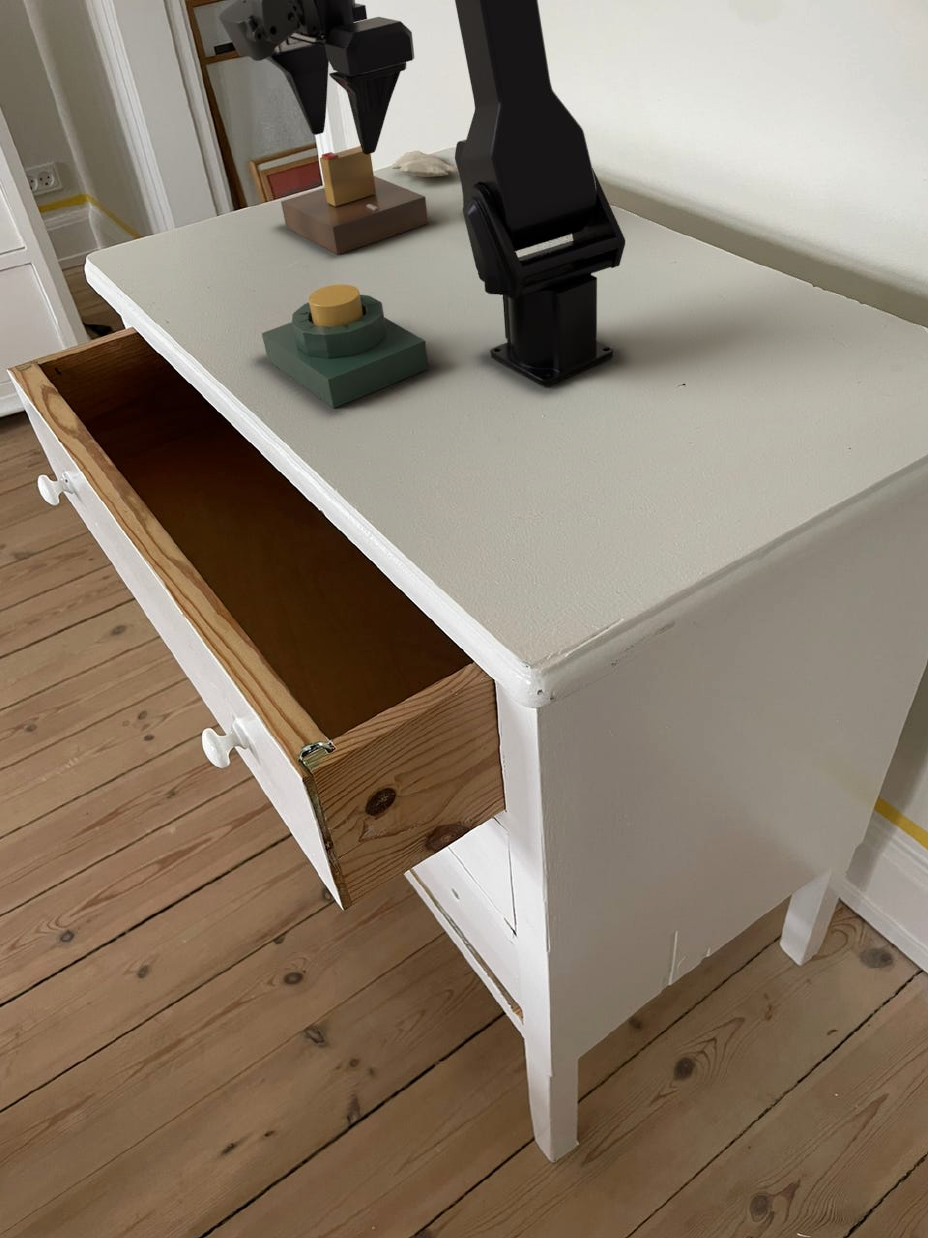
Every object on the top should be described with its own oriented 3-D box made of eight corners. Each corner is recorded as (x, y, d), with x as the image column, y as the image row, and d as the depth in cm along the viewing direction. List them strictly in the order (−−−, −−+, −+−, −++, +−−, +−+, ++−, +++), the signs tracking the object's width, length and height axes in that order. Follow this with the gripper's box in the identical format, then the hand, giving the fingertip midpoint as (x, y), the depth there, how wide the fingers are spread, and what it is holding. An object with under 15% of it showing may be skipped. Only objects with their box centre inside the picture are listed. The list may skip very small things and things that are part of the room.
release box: (428, 368, 70) (422, 316, 67) (333, 408, 67) (323, 355, 64) (357, 325, 76) (349, 276, 74) (267, 360, 73) (255, 309, 71)
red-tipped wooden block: (368, 189, 93) (361, 142, 90) (376, 193, 92) (369, 145, 89) (327, 202, 91) (318, 154, 88) (335, 206, 90) (327, 158, 87)
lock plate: (428, 223, 92) (425, 194, 90) (337, 254, 88) (332, 225, 86) (373, 199, 98) (369, 171, 96) (286, 227, 94) (280, 199, 92)
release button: (372, 317, 69) (368, 294, 68) (328, 334, 67) (324, 310, 66) (346, 302, 71) (342, 279, 70) (304, 318, 70) (299, 295, 69)
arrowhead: (457, 190, 100) (448, 162, 108) (460, 171, 99) (451, 144, 106) (391, 182, 99) (387, 154, 106) (393, 162, 98) (388, 135, 105)
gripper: (171, -56, 80) (219, 145, 91) (274, -39, 69) (315, 190, 79) (289, -78, 85) (321, 116, 95) (405, -66, 73) (428, 154, 83)
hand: (342, 142), depth 88 cm, fingers open, 9 cm apart
